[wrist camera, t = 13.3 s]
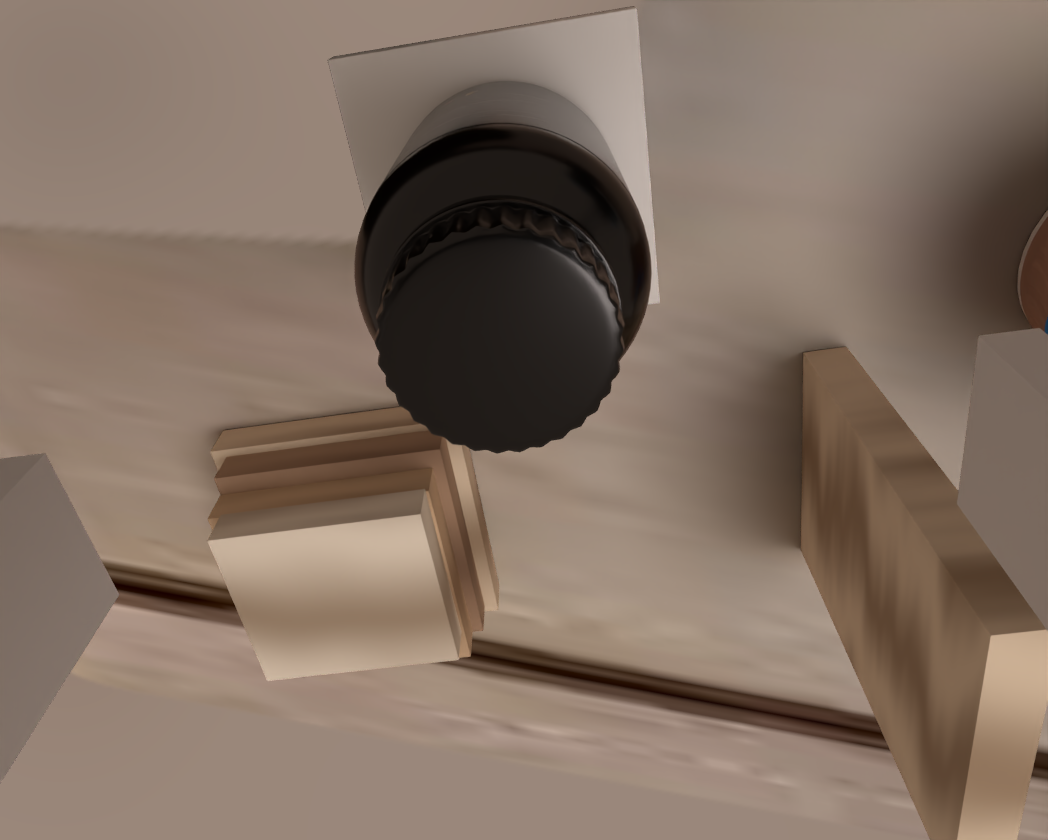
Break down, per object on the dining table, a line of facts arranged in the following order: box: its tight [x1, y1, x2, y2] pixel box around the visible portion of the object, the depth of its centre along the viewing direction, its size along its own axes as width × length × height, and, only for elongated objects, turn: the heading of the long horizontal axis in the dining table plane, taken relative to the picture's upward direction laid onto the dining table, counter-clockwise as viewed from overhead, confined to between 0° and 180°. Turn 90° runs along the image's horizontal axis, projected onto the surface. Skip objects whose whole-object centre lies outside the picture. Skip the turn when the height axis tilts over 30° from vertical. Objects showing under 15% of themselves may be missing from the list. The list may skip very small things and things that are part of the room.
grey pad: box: [328, 6, 660, 304], centre depth 27 cm, size 9×9×1 cm
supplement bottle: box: [355, 81, 652, 453], centre depth 21 cm, size 7×7×12 cm
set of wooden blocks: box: [208, 347, 1048, 840], centre depth 27 cm, size 9×23×14 cm, turn 99°
